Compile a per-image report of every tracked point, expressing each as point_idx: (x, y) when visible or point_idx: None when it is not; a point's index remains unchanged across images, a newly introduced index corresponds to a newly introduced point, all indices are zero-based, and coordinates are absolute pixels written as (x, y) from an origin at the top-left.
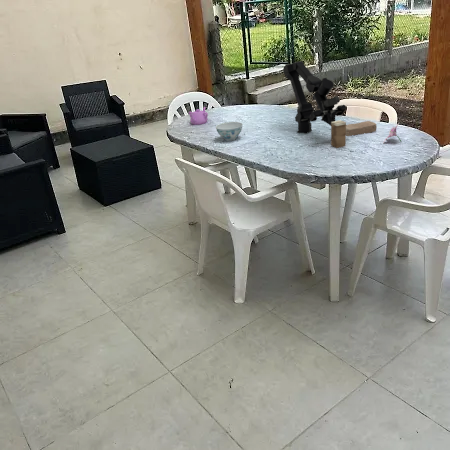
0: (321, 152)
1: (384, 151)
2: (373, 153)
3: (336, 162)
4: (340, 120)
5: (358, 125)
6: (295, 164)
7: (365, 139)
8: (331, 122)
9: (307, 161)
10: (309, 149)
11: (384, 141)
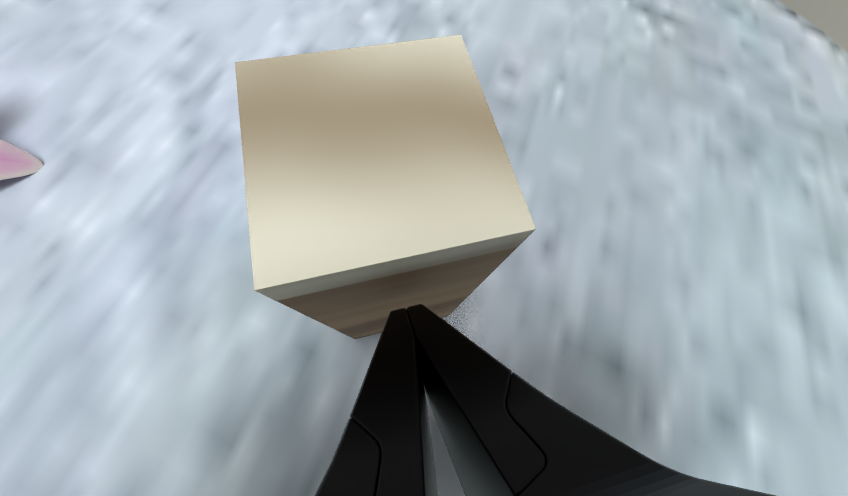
0: (564, 188)
1: (168, 34)
2: (252, 34)
3: (514, 8)
4: (263, 241)
5: None
6: (744, 69)
7: (63, 351)
8: (528, 218)
9: (674, 81)
10: (649, 298)
11: (5, 162)
